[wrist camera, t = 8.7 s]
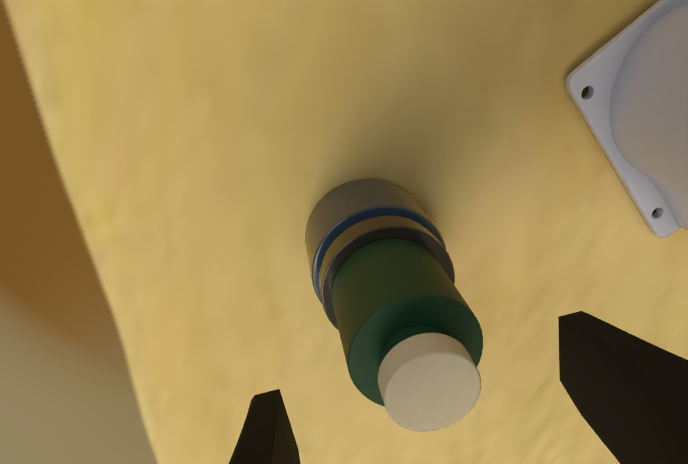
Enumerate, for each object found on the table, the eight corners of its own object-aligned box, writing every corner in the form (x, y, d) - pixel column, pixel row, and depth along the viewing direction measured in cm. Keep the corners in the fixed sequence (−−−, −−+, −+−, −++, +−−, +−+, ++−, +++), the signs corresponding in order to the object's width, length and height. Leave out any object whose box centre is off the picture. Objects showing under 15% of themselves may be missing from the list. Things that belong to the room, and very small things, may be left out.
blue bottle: (446, 238, 23) (487, 290, 19) (356, 309, 24) (376, 373, 20) (375, 152, 21) (403, 189, 17) (279, 233, 22) (284, 287, 18)
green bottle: (464, 290, 19) (534, 391, 14) (378, 355, 20) (417, 474, 15) (398, 214, 17) (452, 299, 12) (307, 288, 18) (325, 396, 13)
